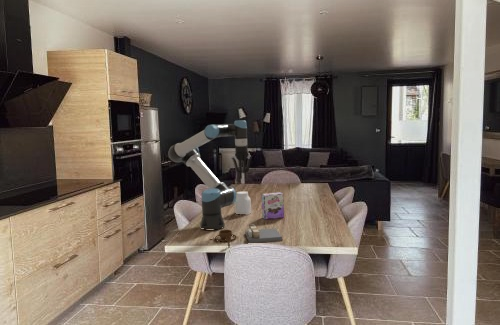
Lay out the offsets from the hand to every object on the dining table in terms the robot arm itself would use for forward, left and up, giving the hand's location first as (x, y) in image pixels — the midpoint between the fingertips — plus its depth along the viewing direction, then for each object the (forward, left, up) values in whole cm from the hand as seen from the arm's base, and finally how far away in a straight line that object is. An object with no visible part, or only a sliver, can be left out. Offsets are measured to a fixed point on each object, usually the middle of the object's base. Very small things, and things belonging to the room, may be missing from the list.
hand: (242, 183), depth 233 cm
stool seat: (+7, -28, -26) cm, 39 cm away
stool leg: (+2, -27, -24) cm, 36 cm away
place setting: (-15, -29, -27) cm, 43 cm away
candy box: (+21, +13, -27) cm, 36 cm away
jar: (+3, +31, -27) cm, 41 cm away
